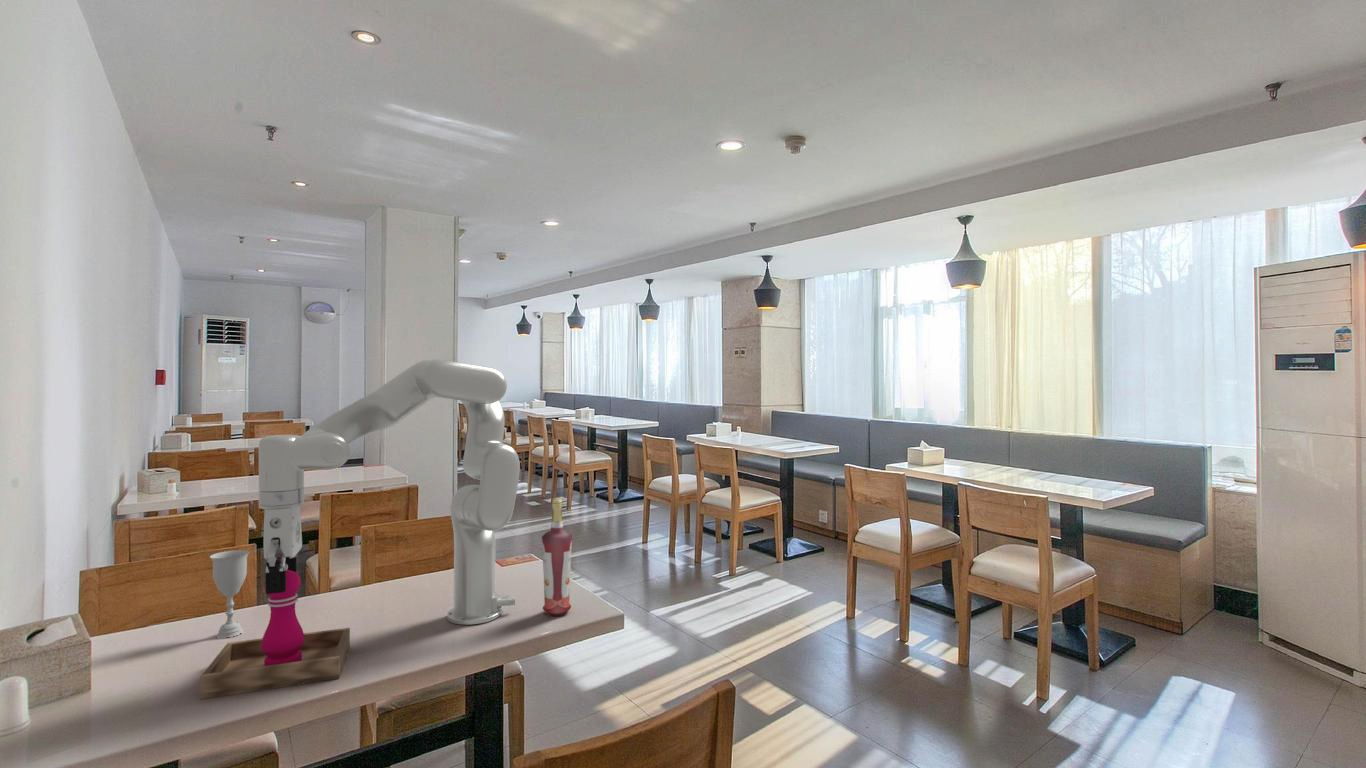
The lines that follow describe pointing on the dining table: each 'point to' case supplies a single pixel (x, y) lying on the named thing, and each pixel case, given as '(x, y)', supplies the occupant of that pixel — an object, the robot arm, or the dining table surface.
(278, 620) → the pepper mill
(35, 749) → the dining table surface
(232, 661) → the serving tray
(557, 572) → the liquor
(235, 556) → the chalice
